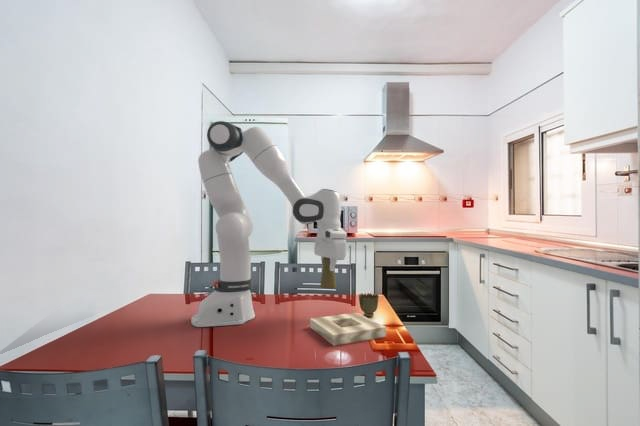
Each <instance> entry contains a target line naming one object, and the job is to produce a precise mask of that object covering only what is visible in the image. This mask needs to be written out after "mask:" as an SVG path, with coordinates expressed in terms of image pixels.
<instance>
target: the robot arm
mask: <svg viewBox="0 0 640 426" xmlns="http://www.w3.org/2000/svg"><path fill="white" fill-rule="evenodd" d="M206 138H207V141H208V143H209V146H211V147H210V148H209V149H208V150H205V151H203V152H201V154H199V156H198V161H197V162H198V167H199V173H200V177H201V180H202V183H203V186H204V188H205V192H206V194H207V197H208V200H209V202H210V204H211V206H212V207H213V209H214V211H215V213H216V214H217V216H218V218H219V219H218V220H217V221H216V223H215V233H216V236H217V237H216V238H217V247H218V254H219V259H220V260H219V275H220V276H219V277H220V278H219V280H216V279H214V280H212V286H213V287H214V291H212V292H211V293H210V294H208V295H207V296H206V297H205V298H204V299H202V300H201V302H200V303H199V306H198V309H197V314H194V315H193V316H191V318H190V319H191V320H190V323H191V325H192V326H194V327H197V328H205V327H218V326H219V327H220V326H221V327H222V326H235V325H243V324H244V323H246V322H248V321H251V320H253V319H254V318H255V317H256V314H255V311H254V306H253V300H252V293H253V280H252V278H251V277H252V271H251V270H252V269H251V268H252V265H251V264H252V262H251V260H252V259H251V258H252V257H251V253H250V250H251V249H250V244H249V242H250V241H249V238H250V237H251V235H252V233H253V231H254V224H253V220H252V218H251V216H250V214H249V212H248V211H249V210H248V209H247V206H246V205H245V203H244V200H243V199H242V196H241V194H240V191H239V188H238V186H237V182H236V180H235V178H234V175H233V172H232V170H231V169H232V168H231V167H230V162H233V161H234V160H235V159H236V158H238V157H239V156H242V154H243V153H244V154H245V155H247V157H248V158H249V160H250V161H251V162H252V164H253V165H254V166H255V167H256V169H257V170H258V171H259V173H261V174H262V175H263V176H264V177H265V178H267V179H268V180H269V181H271V182H272V183H273V184H275V186H277V187H278V188H279V189H280V191H281V192H282V193H283V194H284V196H285V197H286V198H287V200H288V202H290V204H291V206H292V215H293V217H294V218H295V220H296V221H298V222H299V223H300V224H302V225H311V224H313V223H315V222H316V223H317V225H316V228H317V230H316V236H315V239H314V249H313V251H314V255H315V256H319V257H320V260H321V262H322V259H323V258H325V257H326V258H330V266H329V271H334V270H335V269H336V265H337V261H344V260H345V258H346V254H347V241H346V239H347V238H348V234H347V231H345V230H343V228H342V227H341V226H342V223H341V215H342V202H341V196H340V194H339V193H338V192H337V191H335V190H332V189H329V188H321V189H319V190H318V191H316V192H315V193H313V194H311V195H308V196H306V195H305V194H304V193H303V192H302V190H301V189H300V188H299V186H298V185H297V184H296V182H295V180H294V179H293V177H292V175H291V172H290V170H289V166H288V164H287V161H286V158H285V157H284V155H283V153H282V151H281V150H280V148H279V147H278V145H277V144H276V142H275V141H274V140H273V139H272V138H271V136H269V135H268V134H267V133H266V132H265V131H264V130H263V129H262V128H261V127H259V126H253V127H252V126H251V127H249V128H248V129H246V130H242V128H241V127H240V126H236V125H234V124H232V123H230V122H227V121H224V120H223V121H222V120H219V121H216V122H213V123H211V125H210V126H209V127H208V129H207V132H206ZM321 265H322V264H321ZM322 269H323V265H322ZM335 271H336V270H335Z"/></svg>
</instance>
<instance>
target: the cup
mask: <svg viewBox="0 0 640 426" xmlns="http://www.w3.org/2000/svg"><path fill="white" fill-rule="evenodd" d="M358 301H359V307H360V310H361V311H362V312H363V316H365V317H367V318H372V317H374V315H375V312H376V311H377V309H378V306H379V294H377V293H376V294H375V293H371V292H370V293H368V292H367V293H362V292H361V293H359V294H358Z"/></svg>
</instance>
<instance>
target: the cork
mask: <svg viewBox="0 0 640 426" xmlns="http://www.w3.org/2000/svg"><path fill="white" fill-rule="evenodd" d="M321 265H323V268H322V273H321V280H320V289H321V288H322V289H336V288H337V280H336V272H335V271H336V270H334V271H329V266H330V258H326V257H325V258H323V259H322V261H321Z"/></svg>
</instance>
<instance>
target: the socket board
mask: <svg viewBox="0 0 640 426" xmlns="http://www.w3.org/2000/svg"><path fill="white" fill-rule="evenodd" d="M309 327H310V329H311V330H313V331H314V332H315V333H317V334H318V335H320V337H322V338H323V339H325V341H327V342H328V343H330V345H333V346H339V345H345V344H351V343H352V344H353V343H358V342H363V341H369V340H374V339H375V340H376V339H381V338H386V337H387V327H386V326H385V325H383V324H381V323H378V322H376V321H374V320H373V319H372V318H370V317H365V316H364V314H363V315H362V314H361V313H359V312H350V313H343V314H334V315H328V316H319V317H312V318H311V317H310V318H309Z"/></svg>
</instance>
